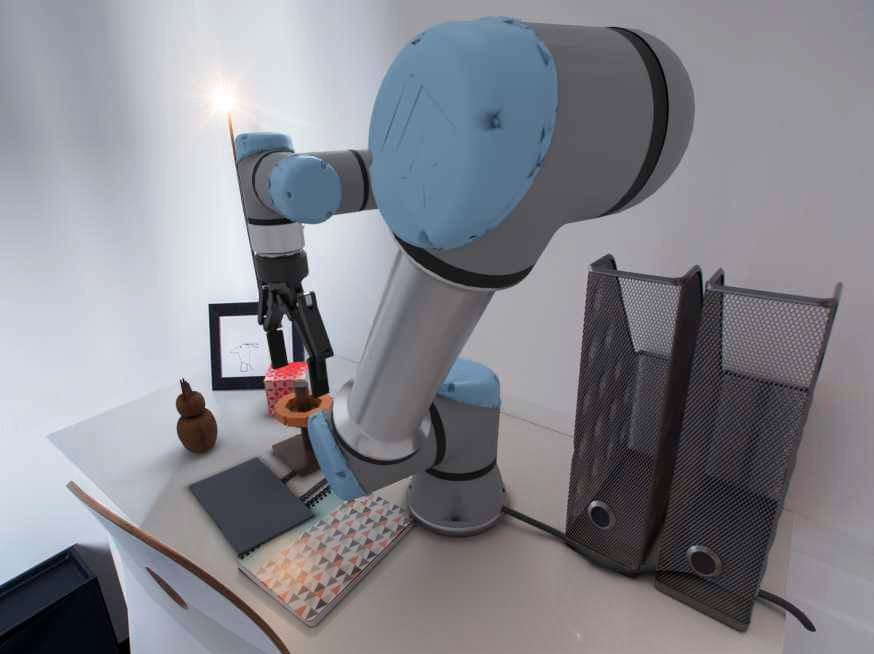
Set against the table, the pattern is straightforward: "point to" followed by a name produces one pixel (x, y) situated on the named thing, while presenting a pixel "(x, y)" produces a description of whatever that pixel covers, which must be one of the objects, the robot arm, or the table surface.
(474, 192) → the robot arm
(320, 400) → the ring
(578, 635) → the table surface
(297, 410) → the ring stand
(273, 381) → the red patterned cube
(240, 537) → the mat
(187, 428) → the wooden figurine
